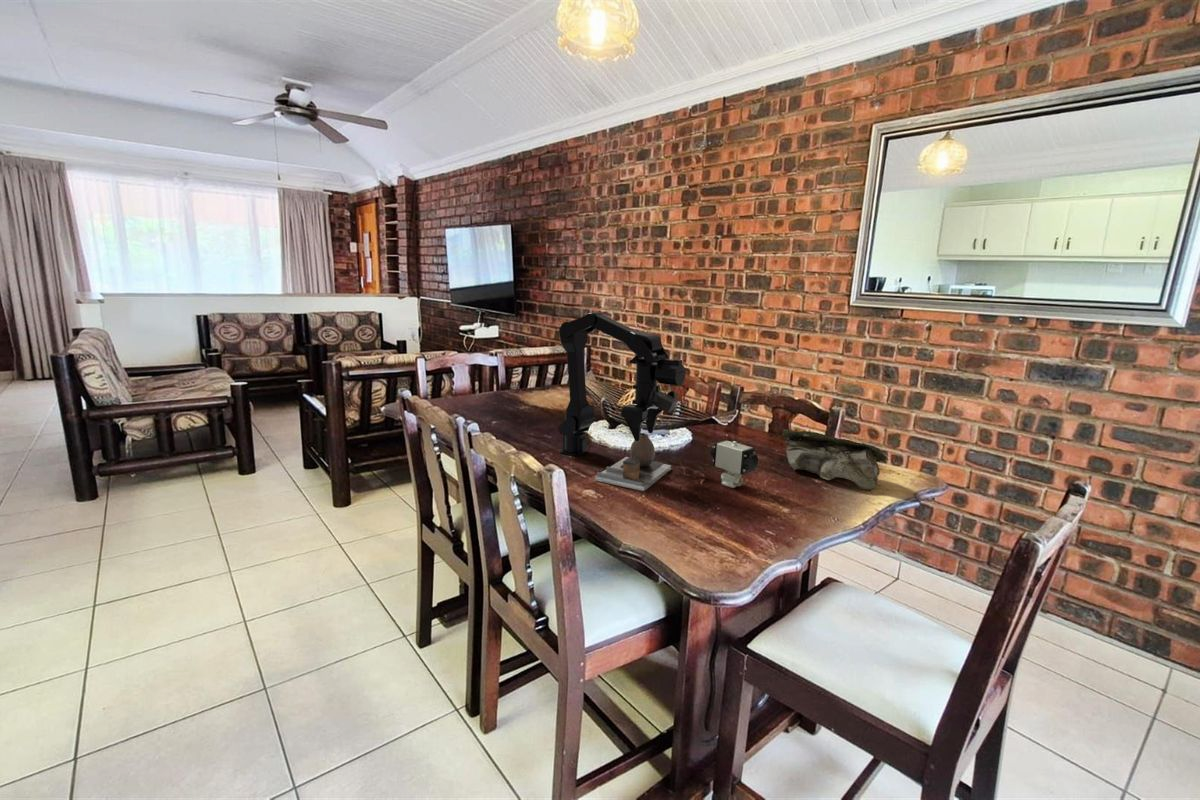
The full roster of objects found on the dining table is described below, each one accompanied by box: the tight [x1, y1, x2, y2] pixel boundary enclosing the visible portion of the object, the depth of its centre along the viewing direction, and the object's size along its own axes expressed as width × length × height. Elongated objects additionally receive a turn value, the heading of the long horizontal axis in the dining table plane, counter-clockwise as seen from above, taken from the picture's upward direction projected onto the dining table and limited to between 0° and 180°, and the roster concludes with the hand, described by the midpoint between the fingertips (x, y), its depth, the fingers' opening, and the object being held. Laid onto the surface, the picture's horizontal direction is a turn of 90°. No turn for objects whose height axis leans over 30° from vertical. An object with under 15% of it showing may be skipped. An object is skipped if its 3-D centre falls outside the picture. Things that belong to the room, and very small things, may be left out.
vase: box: [629, 432, 656, 467], centre depth 150 cm, size 7×7×9 cm
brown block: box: [623, 456, 640, 480], centre depth 140 cm, size 3×4×5 cm
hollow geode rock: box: [781, 429, 890, 490], centre depth 148 cm, size 28×13×15 cm
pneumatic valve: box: [709, 439, 759, 489], centre depth 140 cm, size 6×12×12 cm, turn 42°
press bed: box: [594, 456, 672, 492], centre depth 147 cm, size 14×19×2 cm
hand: (643, 436), depth 149 cm, fingers open, 9 cm apart
